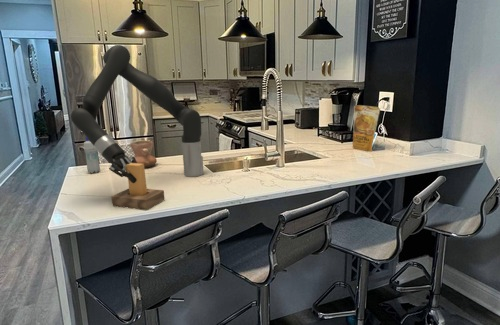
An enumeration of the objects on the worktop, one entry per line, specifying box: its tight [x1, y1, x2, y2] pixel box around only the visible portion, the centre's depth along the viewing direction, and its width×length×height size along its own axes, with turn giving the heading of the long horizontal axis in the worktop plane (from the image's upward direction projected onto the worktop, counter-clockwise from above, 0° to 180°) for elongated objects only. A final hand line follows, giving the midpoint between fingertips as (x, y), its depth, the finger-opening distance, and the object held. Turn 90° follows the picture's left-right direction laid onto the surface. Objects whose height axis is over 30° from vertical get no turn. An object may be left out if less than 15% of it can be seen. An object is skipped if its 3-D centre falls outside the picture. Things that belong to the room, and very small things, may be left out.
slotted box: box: [111, 188, 166, 211], centre depth 140 cm, size 16×12×4 cm
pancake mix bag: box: [352, 104, 381, 152], centre depth 224 cm, size 7×19×28 cm, turn 30°
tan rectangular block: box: [126, 163, 148, 196], centre depth 138 cm, size 6×3×13 cm, turn 70°
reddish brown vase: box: [129, 140, 157, 169], centre depth 198 cm, size 18×14×14 cm
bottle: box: [83, 136, 101, 174], centre depth 186 cm, size 7×7×20 cm
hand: (138, 180), depth 138 cm, fingers closed on tan rectangular block, 3 cm apart
